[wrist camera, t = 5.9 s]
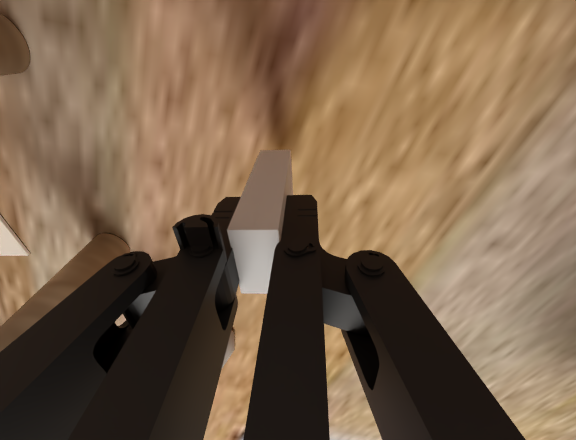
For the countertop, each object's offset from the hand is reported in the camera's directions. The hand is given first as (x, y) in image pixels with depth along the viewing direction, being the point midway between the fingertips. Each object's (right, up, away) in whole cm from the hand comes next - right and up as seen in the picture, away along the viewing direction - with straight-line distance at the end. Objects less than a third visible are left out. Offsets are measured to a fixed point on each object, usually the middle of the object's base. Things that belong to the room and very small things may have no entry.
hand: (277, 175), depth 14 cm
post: (-12, -4, +6) cm, 15 cm away
